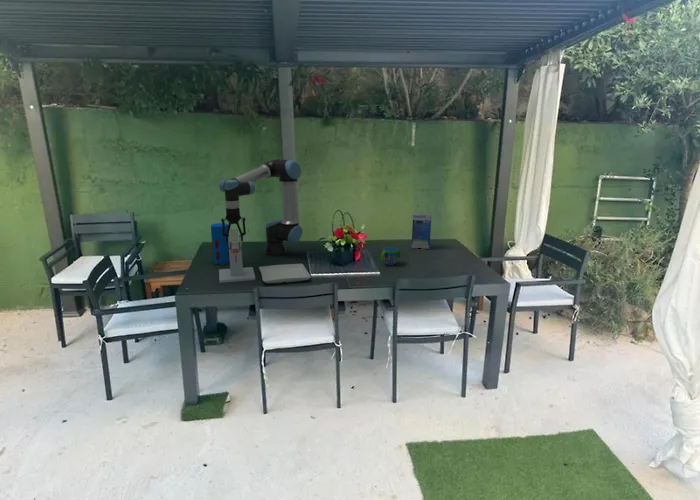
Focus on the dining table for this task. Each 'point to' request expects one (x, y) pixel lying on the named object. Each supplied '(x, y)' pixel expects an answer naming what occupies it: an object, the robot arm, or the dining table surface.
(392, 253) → the snack cup
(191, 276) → the dining table surface
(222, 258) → the thermos
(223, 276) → the stand
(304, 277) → the square plate
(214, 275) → the dining table surface
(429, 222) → the string lights box
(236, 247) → the column
